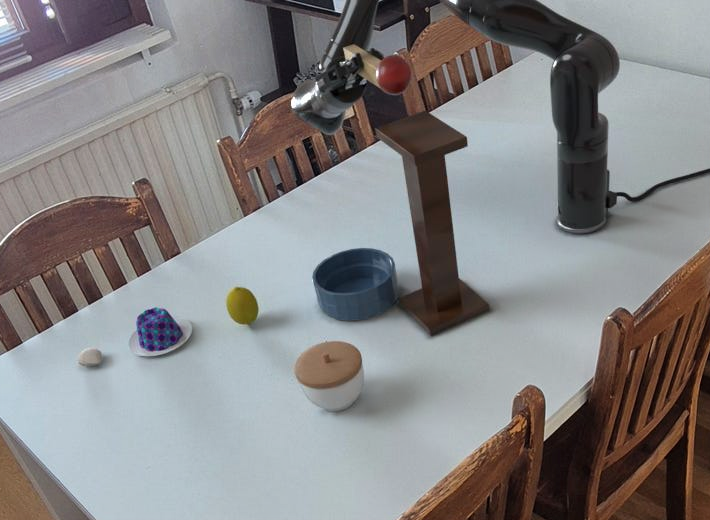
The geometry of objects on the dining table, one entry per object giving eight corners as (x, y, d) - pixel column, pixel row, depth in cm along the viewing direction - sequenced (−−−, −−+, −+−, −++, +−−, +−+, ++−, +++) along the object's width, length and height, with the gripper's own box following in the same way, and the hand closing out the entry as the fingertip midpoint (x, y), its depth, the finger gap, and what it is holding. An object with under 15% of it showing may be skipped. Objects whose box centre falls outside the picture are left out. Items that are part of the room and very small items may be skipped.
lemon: (257, 333, 148) (245, 296, 142) (229, 333, 149) (216, 296, 144) (267, 315, 152) (255, 278, 146) (240, 315, 153) (227, 278, 147)
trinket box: (305, 383, 136) (291, 338, 130) (368, 373, 136) (358, 327, 129) (305, 426, 129) (290, 380, 122) (371, 415, 129) (360, 369, 122)
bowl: (363, 266, 159) (358, 239, 155) (416, 293, 151) (411, 264, 146) (303, 303, 153) (295, 276, 149) (354, 333, 145) (348, 305, 140)
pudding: (206, 333, 150) (196, 309, 146) (153, 367, 145) (141, 344, 141) (169, 312, 157) (160, 289, 153) (117, 344, 151) (105, 321, 147)
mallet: (420, 93, 124) (415, 55, 120) (389, 104, 122) (383, 66, 118) (366, 60, 136) (360, 25, 132) (337, 69, 134) (330, 34, 130)
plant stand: (398, 303, 149) (366, 131, 126) (454, 280, 152) (433, 107, 129) (432, 338, 141) (405, 159, 118) (490, 312, 144) (475, 133, 121)
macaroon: (96, 352, 150) (90, 342, 148) (112, 361, 148) (106, 350, 146) (77, 365, 148) (71, 354, 146) (92, 374, 146) (86, 363, 144)
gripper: (295, 76, 141) (318, 44, 125) (366, 52, 145) (397, 19, 129) (312, 120, 144) (337, 95, 128) (381, 96, 147) (414, 68, 131)
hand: (367, 57), depth 128 cm, fingers closed on mallet
